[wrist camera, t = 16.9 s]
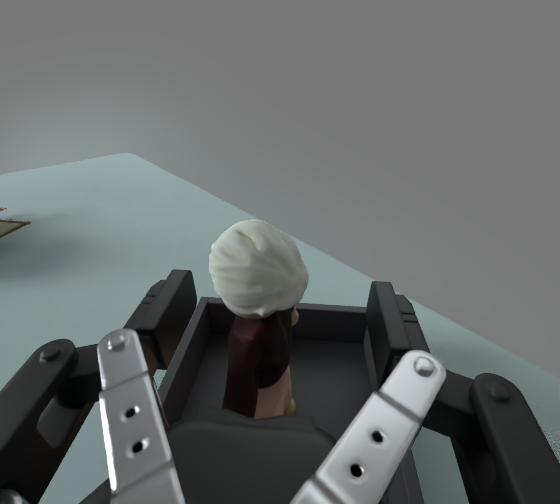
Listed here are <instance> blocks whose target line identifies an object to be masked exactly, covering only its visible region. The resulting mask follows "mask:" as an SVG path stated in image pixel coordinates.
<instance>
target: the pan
mask: <svg viewBox="0 0 560 504" xmlns="http://www.w3.org/2000/svg"><path fill="white" fill-rule="evenodd" d="M295 308H296V311H297V312H298V316H299V318H298V321H297V323H296V324H295V325H293V326H292V350H291V356H290V362H289V368H290V379H291V388H292V399H293V400H294V401H295V403H296V411H295V413H294V415H297V416H308V417H315V427H317V428H320V429H322V430H324V431H326V432H328V433H329V434H330V435H332V436H333V437H335V438H336V439H337V440H339V439H340V438H341V436H342V435H343V433H344V432H345V431H346V429H347V428H348V426H349V425H350V424H351V422H352V421H353V420H354V418H355V417H356V415H357V414H358V413H359V411H360V410H361V408H362V407H363V406H364V404H365V403H366V401H367V400H368V399H369V397H370V396H371V395H372V393H373V392H374V391H375V390H377V391H379V390H380V389H379V386H378V381H377V375H376V370H375V365H374V359H373V354H372V349H371V343H370V338H369V333H368V328H367V322H366V308H367V307H354V306H339V305H323V304H307V303H297V304H296V305H295ZM235 317H236V314H235V313H233V312H232V311H231V310H230V309H228V308H227V306H226V305H225V303H224V302H223V300H222V298H213V297H210V298H209V297H201V299H200V301H199V303H198V305H197V307H196V310H195V312H194V314H193V316H192V318H191V320H190V322H189V325H188V327H187V329H186V331H185V333H184V335H183V338H182V340H181V342H180V344H179V346H178V348H177V350H176V353H175V355H174V357H173V359H172V361H171V363H170V365H169V368H168V370H167V372H166V374H165V376H164V378H163V380H162V383H161V385H160V387H159V389H158V393H159V396H160V400H161V403H162V406H163V409H164V413H165V416H166V419H167V422H168V425H169V427H170V426H171V425H173V424H174V423H176V422H178V421H180V420H183V419H185V418H189V417H192V416H196V414H197V411H198V408H199V406H201V407H212V408H222V403H223V398H224V394H225V388H226V381H227V372H228V335H229V332H230V329H231V327H232V325H233V322H234V320H235ZM383 502H384V503H385V504H424V501H423V496H422V492H421V488H420V484H419V480H418V476H417V472H416V467H415V463H414V459H413V455H412V451H411V449H410V451H409V453H408V455H407V457H406V458H405V460H404V462H403V464H402V466H401V468H400V470H399V472H398V474H397V476H396V478H395V480H394V482H393V484H392V486H391V488H390V490H389V492H388V494H387V496H386V497H385V499H384V501H383Z"/></svg>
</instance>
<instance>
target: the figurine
mask: <svg viewBox="0 0 560 504" xmlns="http://www.w3.org/2000/svg"><path fill="white" fill-rule="evenodd" d="M4 209H7V208H0V211H2V210H4ZM30 223H31V222H29V221H27V222H22V221H12V219H8V220H0V238H1V237H3V236H5V235H7V234H9V233H11V232H13V231H15V230H17V229H19V228H21V227H23V226H25V225H27V224H30Z"/></svg>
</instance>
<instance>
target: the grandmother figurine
mask: <svg viewBox="0 0 560 504" xmlns="http://www.w3.org/2000/svg"><path fill="white" fill-rule="evenodd" d="M211 251H212V252H211V253H210V255H209V272H210V274H211V276H212V280H213V283H214V289H215V291H216V293H217V294H219V295H220V296H221V298H222V300H223V302H224V303H225V305H226V306H227V308H228V309H230V310H231V311H232V312H233V313H235V314H236V317H235V320H234V322H233V325H232V327H231V329H230V332H229V335H228V372H227V381H226V388H225V394H224V398H223V403H222V409H228V410H231V411H233V412H236V413H239V414H241V415H244V416H246V417H249V418H252V419H261V418H267V417H273V416H279V415H285V414H286V415H294V413H295V411H296V403H295V401H294V400H293V399H292V388H291V379H290V368H289V362H290V356H291V350H292V326H293V325H295V324H296V323H297V321H298V318H299V316H298V312H297V311H296V308H295V305H296V304H297V303H298V302H299V301H300V300H301V299H302V297H303V294H304V291H305V289H306V288H307V284H308V278H309V275H308V272H307V269H306V267H305V264H304V262H303V261H302V259H301V255H300V253H299V251H298V248H297V246H296V244H295V242H294V241H293V240H292V239H291V238H290V237H289V236H288V235H286V234H285V233H283V232H281V231H279V230H278V229H277V228H276V227H274V226H272V225H271V224H269V223H266V222H264V221H262V220H258V219H252V220H247V221H242V222H238V223H236V224H234V225H233V226H231V227H230V228H229V229H228V230H225V231H224V232H223V234H222V235H221V236H220V237H219V238H218V240H217V241H216V243H214V244H213V245H212V247H211Z"/></svg>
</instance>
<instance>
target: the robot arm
mask: <svg viewBox="0 0 560 504" xmlns="http://www.w3.org/2000/svg"><path fill="white" fill-rule="evenodd" d="M196 304H197V295H196V290H195V285H194V280H193V275H192V272H191V271H190V270H172V271H171V273H170V274H169V276H168V278H167V279H166V280H160V281H159V282H158V283H156V284H155V285H154V286H152V287H151V288H150V290H149V291H148V293H147V294H146V297H144V298H143V300H142V301H141V304H139V306H138V307H137V309H136V310H135V311H134V313H133V314H132V316H131V317H130V319H129V320H128V321H127V323H126V324H125V326H124V327H123V329H119V330H115V331H113V332H111V333H109V334H108V335H106V336H105V337H104V338H103V339H102V340H101V341H100V342H99V344H94V345H89V346H83V347H78V348H76V347H75V346H74V344H73V342H72V341H70V340H68V339H58V340H54V341H51V342H49V343H46V344H45V345H43V346H41V347H40V348H38V349H37V350H36V351H35V352H34V353H33V354H32V355H31V356H30V357H29V359H28V360H27V361H26V362H25V363H24V364H23V366H22V367H21V368H20V369H19V370H18V371H17V373H16V374H15V375H14V376H13V377H12V378H11V380H10V381H9V382H8V383H7V384H6V385H5V386H4V388H3V389H2V390H1V391H0V504H38V503H39V501H40V499H41V497H42V495H43V494H44V492H45V490H46V488H47V487H48V485H49V483H50V481H51V480H52V478H53V476H54V474H55V472H56V471H57V469H58V467H59V465H60V464H61V462H62V460H63V458H64V457H65V455H66V453H67V451H68V449H69V448H70V446H71V444H72V442H73V441H74V439H75V437H76V435H77V433H78V432H79V430H80V428H81V426H82V425H83V423H84V421H85V419H86V418H87V416H88V414H89V412H90V410H91V409H92V407H93V405H94V403H95V402H97V401H100V408H101V415H102V423H103V431H104V438H105V446H106V453H107V461H108V469H109V476H110V477H109V478H108V479H107V480H106V481H105V482H103V483H102V484H101V485H100V486H99V487H98V488H96V489H95V490H94V491H93V492H92V493H91V494H89V495H88V496H87V497H86V498H85V499H84V500H83V501H81V502H80V503H79V504H385V503H384V502H383V501H384V499H385V497H386V496H387V494H388V492H389V490H390V488H391V486H392V484H393V482H394V480H395V478H396V476H397V474H398V472H399V470H400V468H401V466H402V464H403V462H404V460H405V458H406V457H407V455H408V453H409V451H410V449H411V447H412V445H413V443H414V441H415V439H416V437H417V436H418V434H419V432H420V430H421V428H422V426H423V427H426V428H428V429H431V430H433V431H436V432H438V433H440V434H443V435H445V436H448V437H450V439H451V442H452V445H453V449H454V452H455V456H456V459H457V463H458V466H459V470H460V473H461V476H462V480H463V483H464V487H465V490H466V494H467V497H468V501H469V504H560V463H559V461H558V460H557V458H556V456H555V454H554V452H553V450H552V448H551V446H550V445H549V443H548V441H547V439H546V437H545V435H544V433H543V432H542V430H541V428H540V426H539V424H538V422H537V420H536V419H535V417H534V415H533V413H532V411H531V409H530V407H529V406H528V404H527V402H526V400H525V398H524V396H523V395H522V393H521V392H520V390H519V389H518V388H517V387H516V386H515V385H514V384H513V383H511V382H510V381H508V380H507V379H505V378H503V377H501V376H499V375H496V374H491V373H482V374H479V375H478V376H477V377H476V378H475V380H473V379H470V378H467V377H464V376H461V375H459V374H456V373H453V372H451V371H449V370H447V369H445V367H444V365H443V364H442V362H441V361H440V360H439V359H438V358H436V357H435V356H434V355H432V354H431V353H430V351H429V348H428V345H427V343H426V340H425V338H424V335H423V332H422V330H421V327H420V324H419V323H418V319H417V317H416V315H415V311H414V309H413V306H412V304H411V303H410V302H409V300H408V299H407V298H406V297H405V296H404V295H396V294H395V292H394V289H393V286H392V284H391V283H390V282H377V281H373V282H372V284H371V288H370V293H369V298H368V303H367V308H366V322H367V328H368V333H369V338H370V343H371V349H372V354H373V359H374V365H375V370H376V375H377V381H378V386H379V389H380V390H379V391H377V390H375V391H374V392H373V393H372V395H371V396H370V397H369V399H368V400H367V401H366V403H365V404H364V406H363V407H362V408H361V410H360V411H359V413H358V414H357V415H356V417H355V418H354V420H353V421H352V422H351V424H350V425H349V426H348V428H347V429H346V431H345V432H344V433H343V435H342V436H341V438H340V439H339V440H337V439H336V438H335V437H333V436H332V435H330V434H329V433H328V432H326V431H324V430H322V429H320V428H317V427H315V417H308V416H297V415H286V414H285V415H279V416H273V417H267V418H261V419H252V418H249V417H246V416H244V415H241V414H239V413H236V412H233V411H231V410H228V409H222V408H212V407H201V406H199V408H198V411H197V414H196V416H192V417H189V418H185V419H183V420H180V421H178V422H176V423H174V424H173V425H171V426H170V427H169V425H168V422H167V419H166V416H165V413H164V409H163V406H162V403H161V400H160V396H159V393H158V390H157V387H156V383H155V380H154V377H153V376H154V374H155V372H156V370H157V369H161V370H167V369H168V367H169V365H170V362H171V360H172V358H173V356H174V354H175V352H176V350H177V347H178V345H179V343H180V341H181V339H182V337H183V335H184V332H185V330H186V328H187V326H188V324H189V322H190V319H191V317H192V315H193V313H194V311H195V308H196ZM52 398H53V399H52ZM50 401H51V402H50ZM48 404H49V405H48ZM47 405H48V406H47ZM46 407H47V408H46ZM45 408H46V409H45ZM43 411H44V412H43ZM41 414H42V415H41Z"/></svg>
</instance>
